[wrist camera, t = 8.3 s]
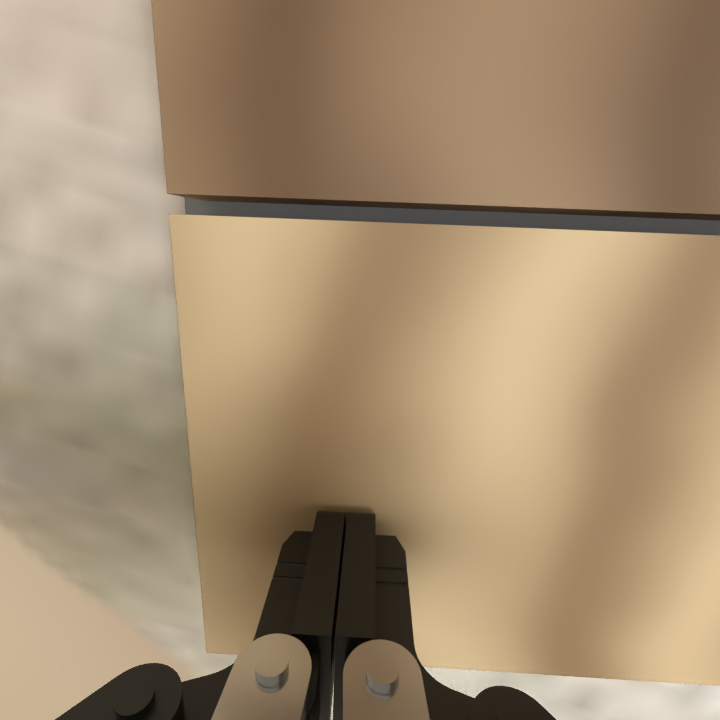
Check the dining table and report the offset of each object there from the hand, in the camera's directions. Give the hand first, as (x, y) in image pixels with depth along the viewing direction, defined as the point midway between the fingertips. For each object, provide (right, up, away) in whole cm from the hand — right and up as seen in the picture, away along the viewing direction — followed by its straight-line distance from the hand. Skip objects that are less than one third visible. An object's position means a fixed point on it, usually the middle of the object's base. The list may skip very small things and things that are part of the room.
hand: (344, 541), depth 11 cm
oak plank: (+7, +2, +1) cm, 8 cm away
